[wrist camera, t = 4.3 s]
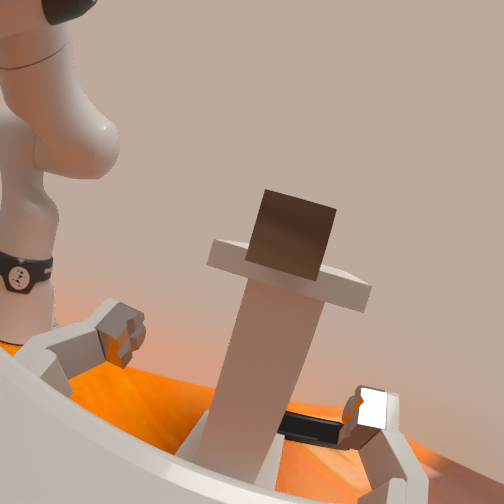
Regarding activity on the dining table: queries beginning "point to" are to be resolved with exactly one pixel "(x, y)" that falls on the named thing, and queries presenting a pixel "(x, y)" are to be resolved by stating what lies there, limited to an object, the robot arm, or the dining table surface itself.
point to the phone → (310, 430)
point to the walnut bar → (290, 235)
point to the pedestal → (263, 364)
